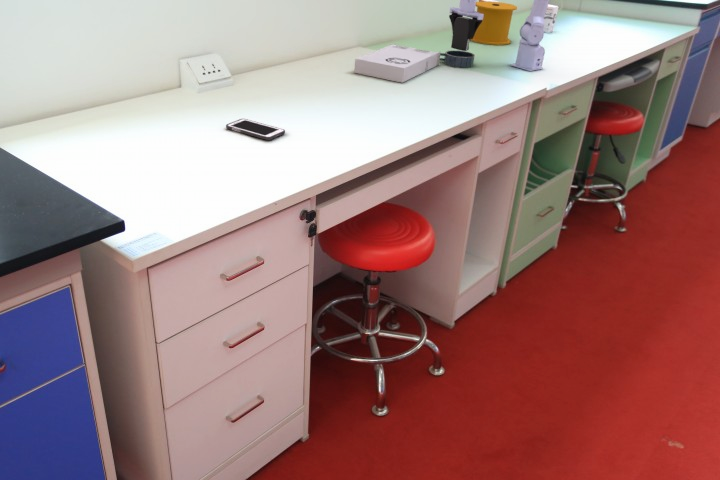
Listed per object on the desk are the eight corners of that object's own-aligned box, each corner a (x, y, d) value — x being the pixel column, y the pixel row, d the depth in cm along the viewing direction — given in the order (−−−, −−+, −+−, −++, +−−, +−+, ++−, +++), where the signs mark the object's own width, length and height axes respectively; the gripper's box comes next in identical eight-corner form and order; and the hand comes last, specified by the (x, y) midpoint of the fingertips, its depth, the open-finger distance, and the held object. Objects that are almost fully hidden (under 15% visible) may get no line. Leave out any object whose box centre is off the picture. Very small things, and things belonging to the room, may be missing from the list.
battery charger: (471, 50, 254) (476, 18, 248) (465, 51, 251) (470, 19, 245) (455, 46, 258) (460, 15, 252) (450, 48, 255) (454, 16, 250)
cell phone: (268, 141, 174) (268, 137, 173) (224, 128, 180) (224, 124, 180) (286, 133, 179) (286, 130, 179) (242, 121, 186) (242, 118, 185)
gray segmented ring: (473, 62, 261) (475, 52, 259) (472, 69, 252) (474, 58, 250) (437, 58, 263) (439, 48, 261) (435, 65, 254) (436, 54, 252)
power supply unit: (439, 65, 254) (440, 51, 252) (402, 83, 229) (404, 68, 227) (393, 56, 262) (395, 43, 259) (353, 73, 237) (354, 58, 235)
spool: (513, 39, 302) (520, 4, 294) (505, 47, 288) (512, 10, 280) (474, 34, 308) (480, -1, 300) (464, 41, 294) (470, 4, 286)
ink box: (532, 30, 324) (537, 4, 318) (537, 28, 328) (542, 3, 322) (548, 33, 320) (554, 7, 314) (553, 32, 323) (559, 6, 317)
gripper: (446, -5, 248) (440, 33, 255) (476, 2, 238) (470, 41, 245) (459, -6, 252) (453, 32, 259) (489, 0, 242) (483, 39, 249)
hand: (462, 36), depth 252 cm, fingers closed on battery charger, 7 cm apart
